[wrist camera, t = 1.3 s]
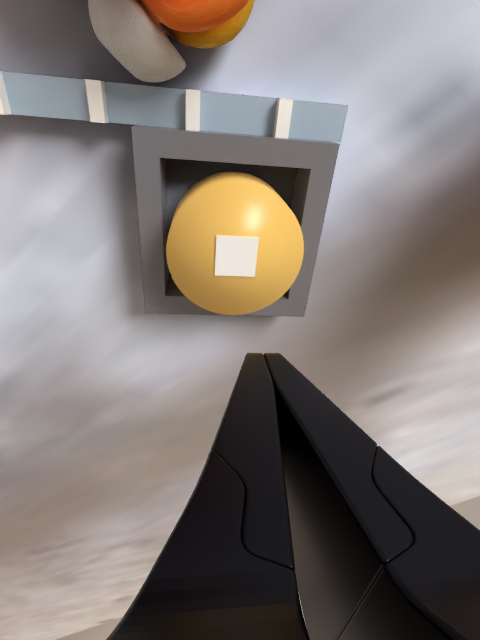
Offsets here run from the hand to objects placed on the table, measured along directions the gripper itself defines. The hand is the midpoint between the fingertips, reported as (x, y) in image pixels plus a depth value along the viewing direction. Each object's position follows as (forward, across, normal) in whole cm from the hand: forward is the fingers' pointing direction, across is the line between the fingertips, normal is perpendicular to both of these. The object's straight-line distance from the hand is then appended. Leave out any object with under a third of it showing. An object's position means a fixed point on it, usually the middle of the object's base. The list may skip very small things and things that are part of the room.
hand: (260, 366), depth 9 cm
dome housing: (+12, 0, 0) cm, 12 cm away
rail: (+12, +5, -5) cm, 14 cm away
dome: (+11, 0, 0) cm, 11 cm away
